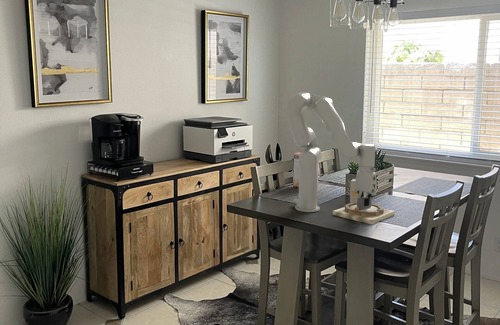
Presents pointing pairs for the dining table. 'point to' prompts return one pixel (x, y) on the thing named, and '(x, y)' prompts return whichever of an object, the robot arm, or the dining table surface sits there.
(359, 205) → the dial
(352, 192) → the supplement box
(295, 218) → the dining table surface
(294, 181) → the cracker box
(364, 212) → the dial housing
